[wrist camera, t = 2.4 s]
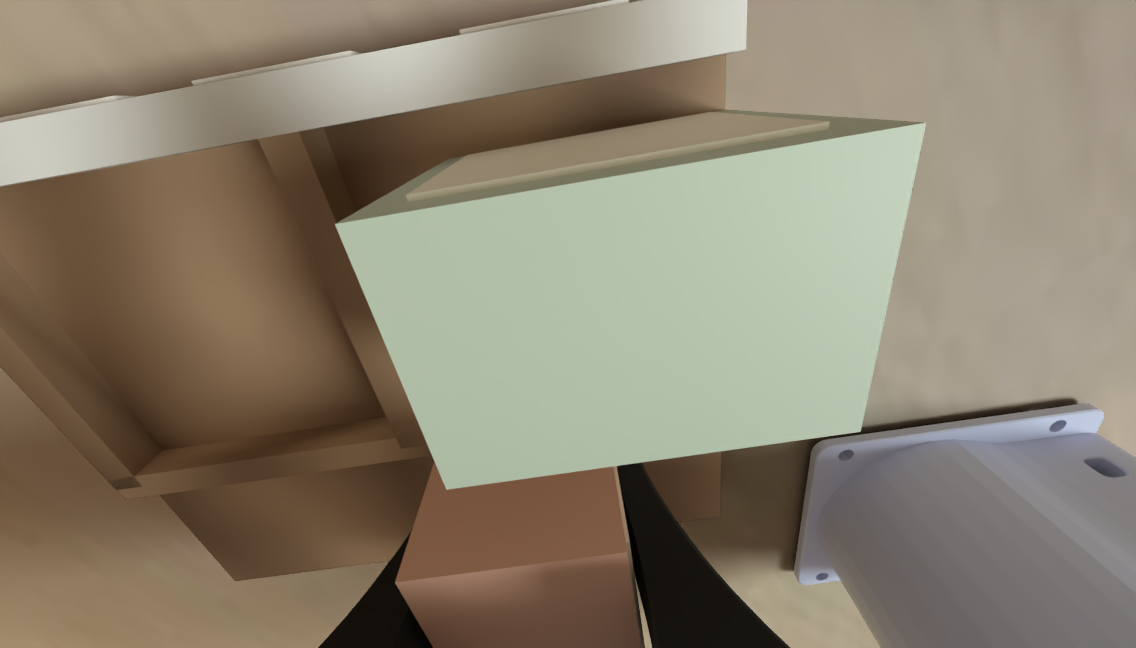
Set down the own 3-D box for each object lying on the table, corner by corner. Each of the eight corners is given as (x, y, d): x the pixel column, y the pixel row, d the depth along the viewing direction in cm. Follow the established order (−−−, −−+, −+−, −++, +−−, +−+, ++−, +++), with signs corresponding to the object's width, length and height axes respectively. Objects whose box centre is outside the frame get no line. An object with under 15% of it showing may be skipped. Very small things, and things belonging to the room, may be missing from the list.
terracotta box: (455, 389, 12) (390, 583, 7) (600, 367, 12) (631, 551, 7) (503, 526, 15) (479, 732, 10) (621, 510, 15) (654, 713, 10)
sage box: (725, 105, 9) (928, 113, 4) (723, 285, 11) (859, 435, 6) (447, 154, 9) (332, 216, 4) (493, 322, 11) (448, 493, 6)
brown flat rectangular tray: (706, -1, 9) (748, -28, 7) (709, 489, 16) (730, 543, 14) (-68, 146, 10) (-220, 157, 8) (255, 551, 17) (216, 609, 15)
